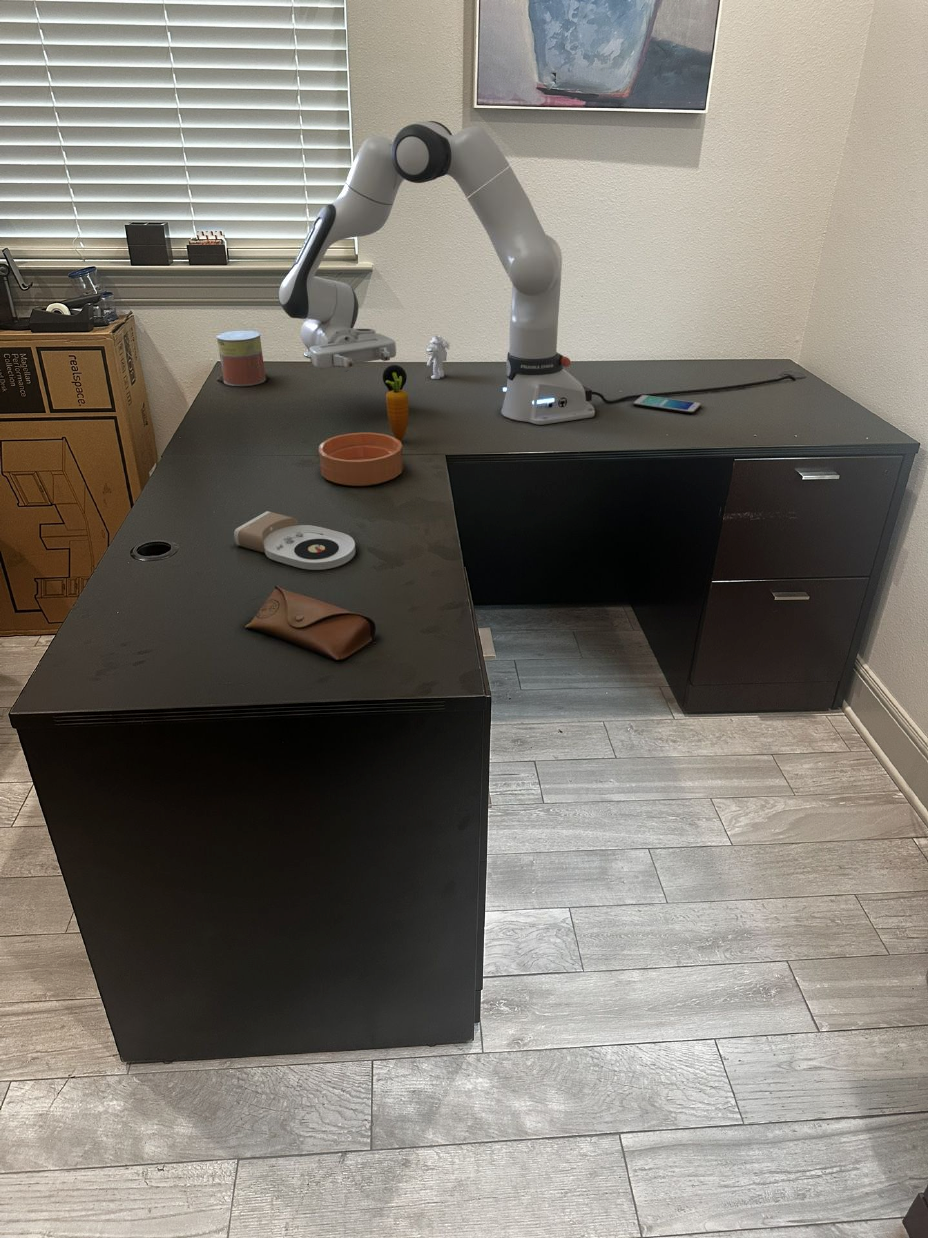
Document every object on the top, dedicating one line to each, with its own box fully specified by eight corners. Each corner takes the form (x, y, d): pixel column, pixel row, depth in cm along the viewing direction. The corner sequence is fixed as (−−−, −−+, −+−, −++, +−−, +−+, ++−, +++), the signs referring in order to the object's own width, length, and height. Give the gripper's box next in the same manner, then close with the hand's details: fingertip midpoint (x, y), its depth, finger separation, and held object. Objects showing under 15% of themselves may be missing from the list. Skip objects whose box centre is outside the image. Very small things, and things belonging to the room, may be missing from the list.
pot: (396, 454, 178) (395, 429, 175) (408, 483, 164) (407, 457, 161) (318, 461, 175) (316, 435, 172) (324, 491, 161) (321, 464, 158)
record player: (273, 507, 147) (367, 531, 139) (275, 523, 149) (369, 547, 141) (228, 532, 139) (326, 560, 131) (231, 549, 140) (328, 577, 132)
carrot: (407, 446, 182) (404, 377, 174) (385, 445, 183) (381, 376, 175) (413, 438, 186) (410, 371, 179) (391, 437, 187) (387, 370, 179)
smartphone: (642, 394, 211) (701, 402, 204) (642, 397, 211) (701, 406, 205) (632, 402, 205) (693, 411, 199) (632, 405, 205) (692, 414, 199)
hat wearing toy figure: (435, 381, 225) (434, 336, 218) (423, 379, 226) (421, 334, 220) (452, 373, 231) (452, 329, 225) (441, 371, 233) (440, 327, 227)
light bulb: (380, 407, 206) (377, 367, 200) (390, 401, 210) (388, 361, 205) (401, 410, 204) (399, 369, 198) (411, 403, 208) (410, 363, 203)
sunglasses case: (239, 626, 119) (250, 581, 118) (271, 628, 125) (281, 585, 124) (341, 662, 111) (353, 614, 110) (369, 662, 117) (380, 616, 117)
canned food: (226, 375, 231) (219, 330, 225) (267, 373, 232) (262, 329, 226) (221, 386, 222) (213, 340, 215) (263, 385, 223) (257, 339, 216)
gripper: (298, 338, 189) (324, 351, 179) (378, 327, 198) (407, 339, 188) (301, 366, 192) (327, 381, 182) (379, 354, 202) (408, 367, 192)
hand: (368, 359), depth 185 cm, fingers open, 8 cm apart
